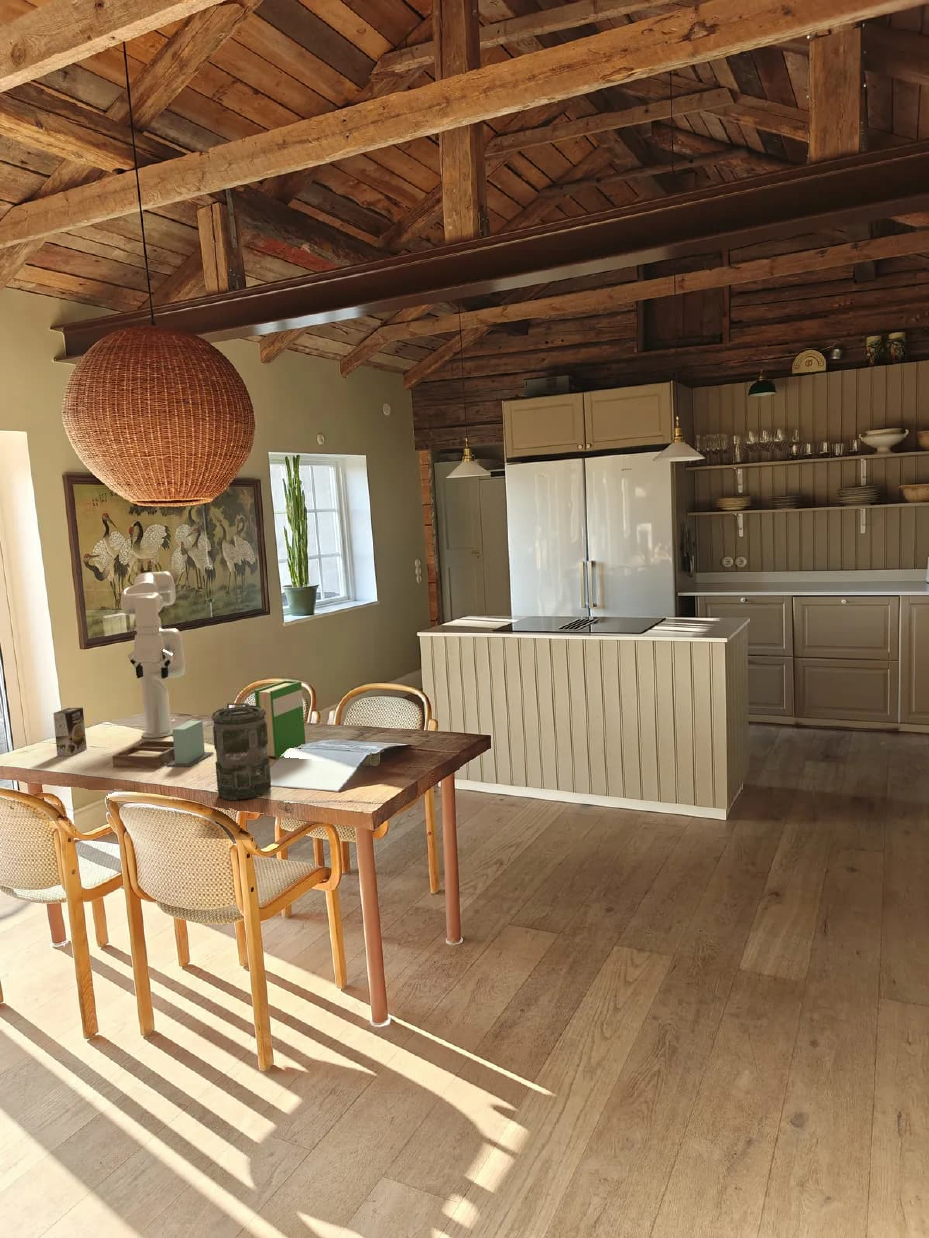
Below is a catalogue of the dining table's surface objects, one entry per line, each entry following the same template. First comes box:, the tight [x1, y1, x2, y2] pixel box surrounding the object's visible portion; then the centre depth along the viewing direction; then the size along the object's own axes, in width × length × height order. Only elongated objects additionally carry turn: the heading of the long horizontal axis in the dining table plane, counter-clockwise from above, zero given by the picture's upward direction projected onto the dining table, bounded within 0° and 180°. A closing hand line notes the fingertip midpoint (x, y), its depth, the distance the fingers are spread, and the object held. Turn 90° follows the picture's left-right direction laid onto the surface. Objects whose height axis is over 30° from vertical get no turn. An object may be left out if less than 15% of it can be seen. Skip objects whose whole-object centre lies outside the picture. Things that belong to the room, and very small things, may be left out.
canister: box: [211, 702, 272, 801], centre depth 263 cm, size 16×16×28 cm
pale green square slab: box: [172, 720, 206, 764], centre depth 303 cm, size 4×12×12 cm, turn 167°
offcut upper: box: [128, 751, 163, 756], centre depth 303 cm, size 6×10×2 cm, turn 69°
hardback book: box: [254, 679, 306, 759], centre depth 308 cm, size 18×7×24 cm, turn 157°
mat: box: [165, 751, 214, 768], centre depth 304 cm, size 16×9×1 cm, turn 167°
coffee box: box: [52, 707, 87, 757], centre depth 320 cm, size 9×6×16 cm
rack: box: [111, 740, 175, 770], centre depth 306 cm, size 20×17×4 cm
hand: (152, 677), depth 310 cm, fingers open, 9 cm apart
